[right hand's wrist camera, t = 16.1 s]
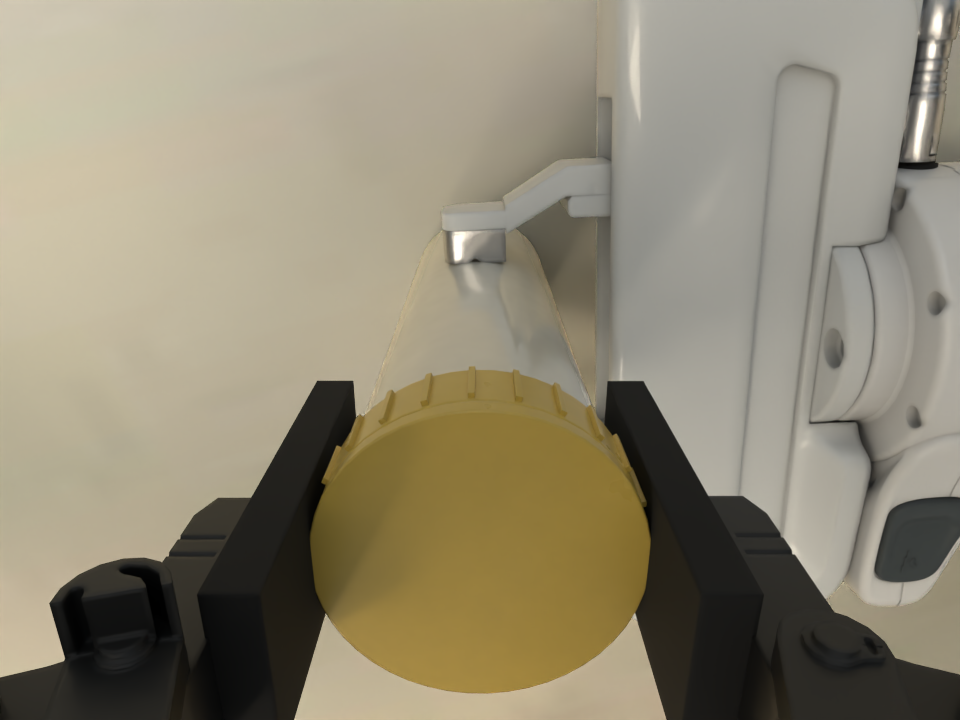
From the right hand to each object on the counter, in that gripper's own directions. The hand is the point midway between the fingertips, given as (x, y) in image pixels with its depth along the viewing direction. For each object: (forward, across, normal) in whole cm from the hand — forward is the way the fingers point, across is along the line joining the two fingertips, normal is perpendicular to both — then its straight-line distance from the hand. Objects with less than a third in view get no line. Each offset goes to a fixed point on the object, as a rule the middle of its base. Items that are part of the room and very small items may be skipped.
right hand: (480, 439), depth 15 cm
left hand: (+7, -1, 0) cm, 7 cm away
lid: (-4, 0, 0) cm, 4 cm away
